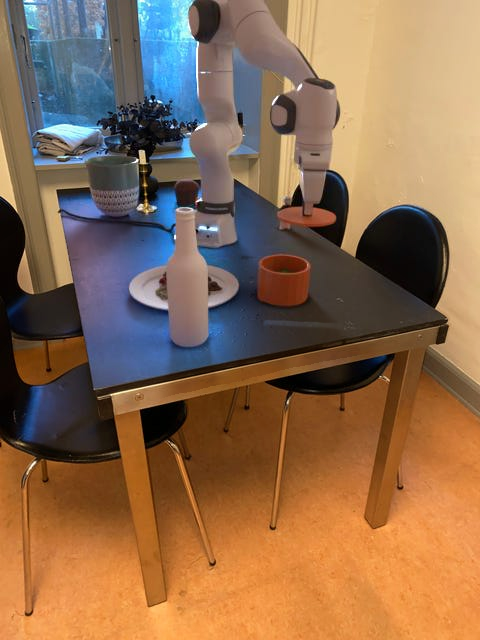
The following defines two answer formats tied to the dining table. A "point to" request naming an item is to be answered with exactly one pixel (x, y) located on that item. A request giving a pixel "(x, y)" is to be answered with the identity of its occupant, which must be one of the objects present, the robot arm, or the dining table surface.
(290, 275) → the pot
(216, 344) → the dining table surface
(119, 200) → the planter
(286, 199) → the grandmother figurine
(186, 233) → the alcohol
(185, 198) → the muffin
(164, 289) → the plated food
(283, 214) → the lid
